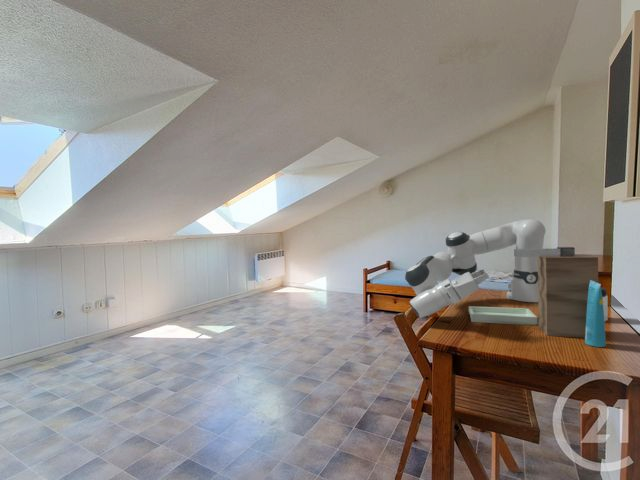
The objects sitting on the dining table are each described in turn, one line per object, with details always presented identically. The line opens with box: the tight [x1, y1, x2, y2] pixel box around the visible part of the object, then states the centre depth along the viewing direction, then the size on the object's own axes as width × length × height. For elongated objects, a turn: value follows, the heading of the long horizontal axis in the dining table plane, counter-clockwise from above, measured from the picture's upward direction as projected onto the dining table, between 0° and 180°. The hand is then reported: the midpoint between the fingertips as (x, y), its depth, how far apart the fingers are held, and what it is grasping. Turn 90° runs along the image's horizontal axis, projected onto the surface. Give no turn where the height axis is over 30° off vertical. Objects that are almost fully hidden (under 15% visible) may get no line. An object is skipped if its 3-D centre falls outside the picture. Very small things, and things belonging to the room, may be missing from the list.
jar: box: [600, 286, 609, 322], centre depth 125 cm, size 9×8×12 cm
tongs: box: [513, 246, 576, 258], centre depth 113 cm, size 3×17×3 cm, turn 70°
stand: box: [537, 254, 599, 339], centre depth 112 cm, size 10×14×26 cm
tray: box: [468, 305, 538, 326], centre depth 130 cm, size 13×22×3 cm, turn 70°
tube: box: [584, 280, 607, 348], centre depth 100 cm, size 7×5×19 cm, turn 165°
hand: (485, 272), depth 120 cm, fingers open, 8 cm apart
